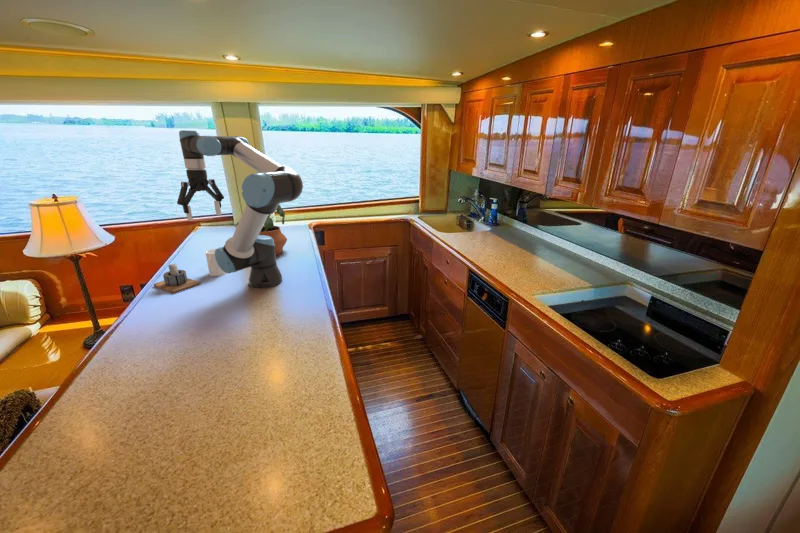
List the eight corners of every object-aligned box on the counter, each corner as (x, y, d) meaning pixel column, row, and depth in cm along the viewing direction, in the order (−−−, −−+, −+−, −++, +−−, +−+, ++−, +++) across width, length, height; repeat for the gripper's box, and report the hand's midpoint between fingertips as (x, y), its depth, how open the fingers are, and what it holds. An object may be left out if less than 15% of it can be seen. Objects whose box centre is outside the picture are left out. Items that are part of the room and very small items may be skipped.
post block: (200, 284, 159) (196, 264, 156) (174, 293, 149) (169, 272, 146) (180, 277, 166) (175, 258, 162) (154, 286, 156) (148, 265, 152)
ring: (191, 281, 159) (188, 271, 157) (172, 288, 152) (170, 277, 150) (180, 278, 163) (178, 268, 161) (162, 284, 156) (159, 274, 154)
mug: (218, 279, 166) (213, 256, 161) (201, 278, 166) (196, 255, 162) (230, 270, 177) (227, 248, 172) (215, 269, 177) (211, 248, 173)
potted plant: (291, 255, 200) (286, 206, 190) (240, 262, 188) (231, 209, 178) (285, 245, 219) (280, 199, 209) (238, 250, 207) (230, 202, 197)
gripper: (216, 166, 156) (224, 211, 163) (160, 170, 135) (171, 221, 142) (227, 167, 152) (234, 213, 160) (171, 171, 132) (182, 224, 139)
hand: (205, 217), depth 151 cm, fingers open, 13 cm apart
